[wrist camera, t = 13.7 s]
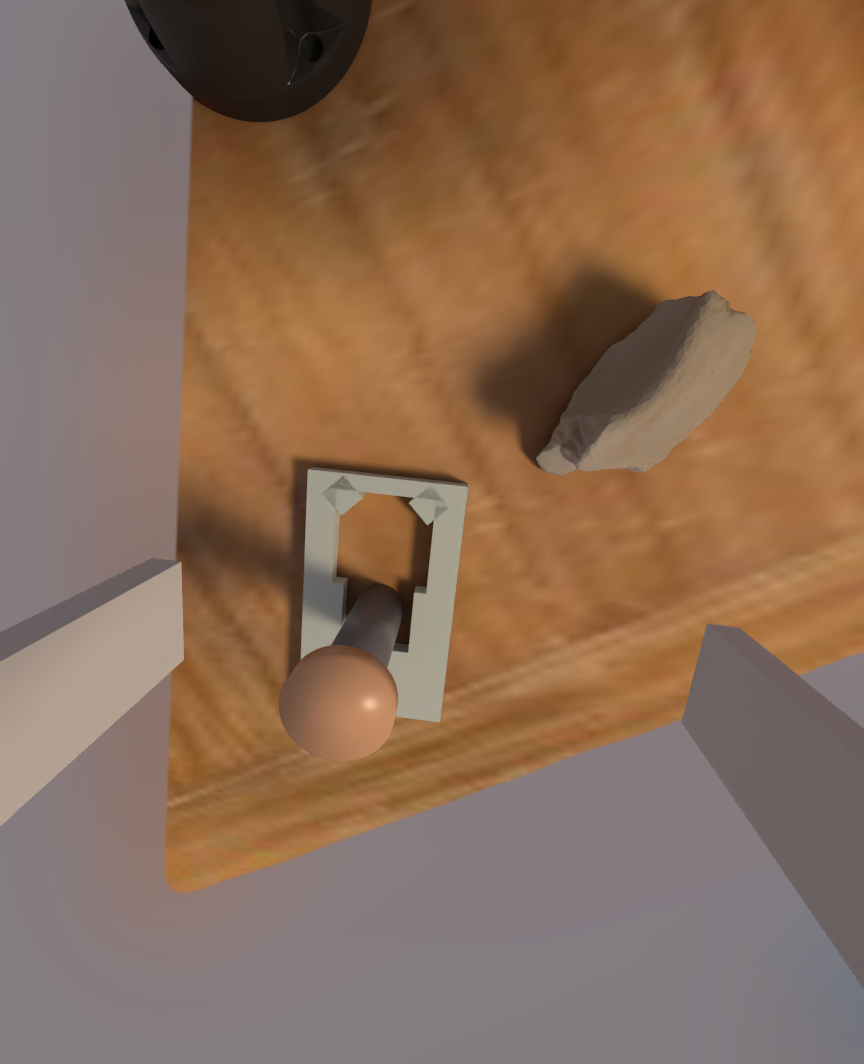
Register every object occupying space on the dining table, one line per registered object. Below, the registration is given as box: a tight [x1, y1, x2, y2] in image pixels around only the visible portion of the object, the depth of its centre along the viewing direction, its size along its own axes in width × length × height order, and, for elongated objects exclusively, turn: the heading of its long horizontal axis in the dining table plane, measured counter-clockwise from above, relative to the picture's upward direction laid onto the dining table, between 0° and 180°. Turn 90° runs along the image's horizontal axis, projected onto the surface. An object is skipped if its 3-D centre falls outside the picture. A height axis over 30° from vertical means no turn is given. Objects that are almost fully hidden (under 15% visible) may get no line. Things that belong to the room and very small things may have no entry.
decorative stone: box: [536, 290, 757, 475], centre depth 32 cm, size 8×14×8 cm, turn 136°
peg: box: [279, 584, 404, 761], centre depth 34 cm, size 6×6×14 cm
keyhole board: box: [301, 467, 468, 722], centre depth 40 cm, size 20×12×2 cm, turn 174°
